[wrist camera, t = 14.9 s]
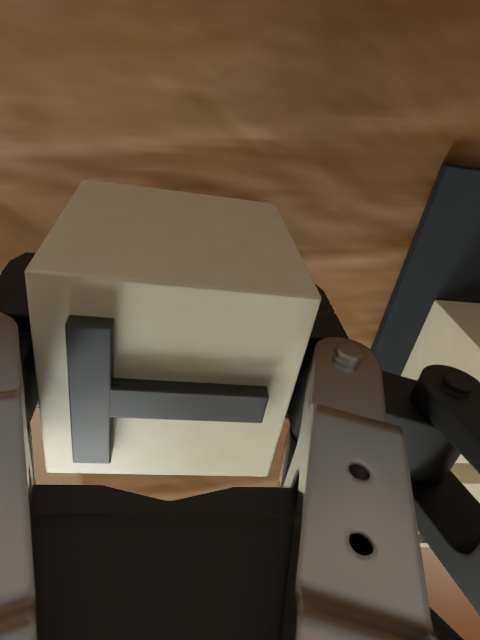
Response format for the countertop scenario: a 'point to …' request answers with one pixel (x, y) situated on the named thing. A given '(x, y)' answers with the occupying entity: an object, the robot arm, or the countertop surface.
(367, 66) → the countertop surface
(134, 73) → the countertop surface
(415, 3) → the countertop surface
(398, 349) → the word mat
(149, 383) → the tile
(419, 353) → the tile
